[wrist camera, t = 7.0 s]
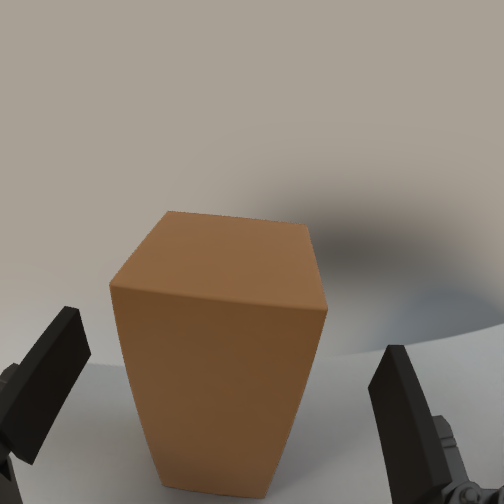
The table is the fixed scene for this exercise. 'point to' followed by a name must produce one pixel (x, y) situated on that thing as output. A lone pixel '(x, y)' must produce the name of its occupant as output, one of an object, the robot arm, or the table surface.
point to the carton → (219, 345)
